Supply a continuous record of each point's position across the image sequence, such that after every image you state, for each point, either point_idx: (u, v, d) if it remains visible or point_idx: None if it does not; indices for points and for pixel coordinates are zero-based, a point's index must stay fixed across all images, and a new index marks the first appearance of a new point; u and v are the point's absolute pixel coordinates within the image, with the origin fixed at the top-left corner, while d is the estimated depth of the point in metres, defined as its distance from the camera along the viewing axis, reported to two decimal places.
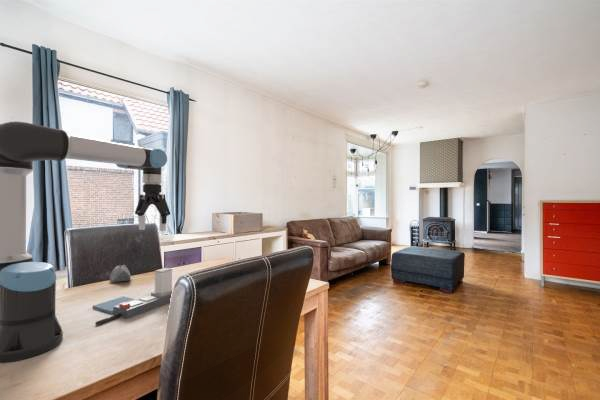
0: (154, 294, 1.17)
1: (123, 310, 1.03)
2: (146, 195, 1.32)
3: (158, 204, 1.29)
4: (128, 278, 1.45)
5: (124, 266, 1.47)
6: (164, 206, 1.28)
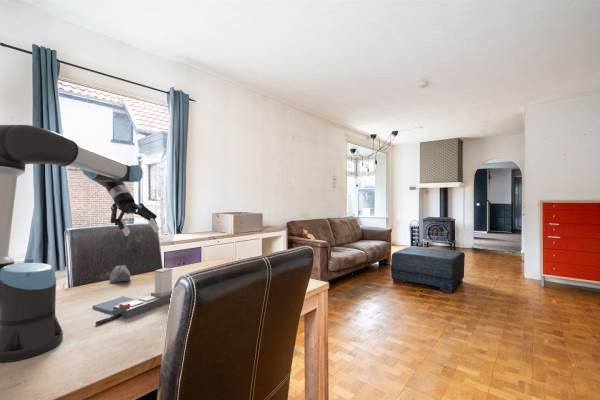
0: (154, 294, 1.17)
1: (123, 310, 1.03)
2: (123, 204, 1.28)
3: None
4: (128, 278, 1.45)
5: (124, 266, 1.47)
6: None
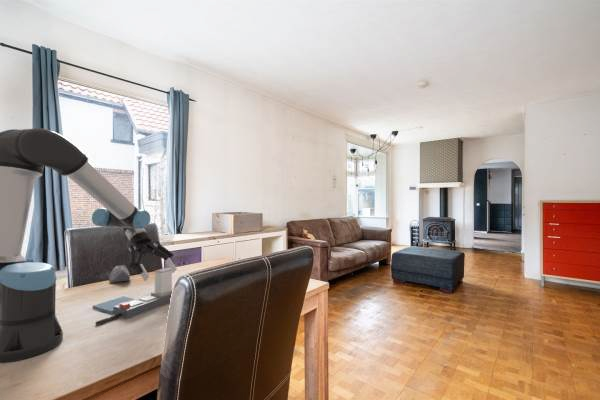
0: (154, 294, 1.17)
1: (123, 310, 1.03)
2: (140, 244, 1.24)
3: None
4: (127, 278, 1.45)
5: (123, 266, 1.47)
6: None
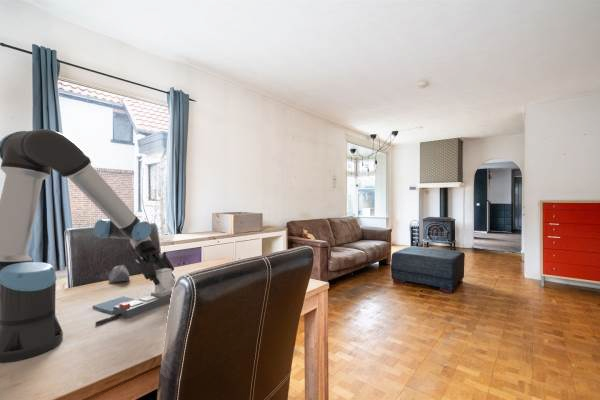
0: (154, 294, 1.17)
1: (123, 310, 1.03)
2: (144, 253, 1.21)
3: None
4: (127, 278, 1.45)
5: (123, 266, 1.46)
6: None
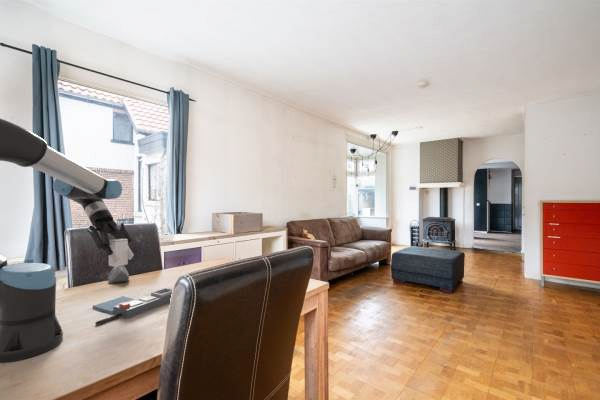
0: (154, 294, 1.17)
1: (123, 310, 1.03)
2: (98, 222, 1.15)
3: None
4: (126, 278, 1.45)
5: (122, 266, 1.46)
6: None
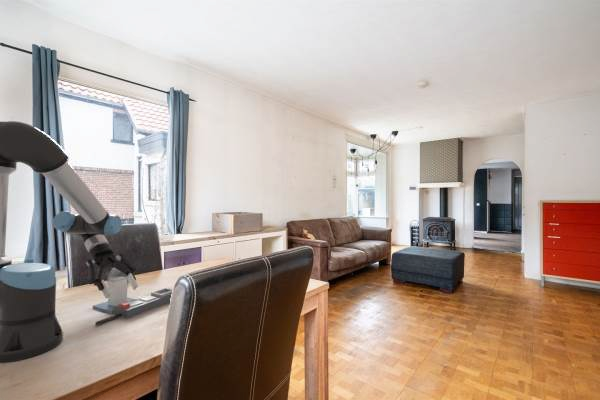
0: (154, 294, 1.17)
1: (123, 310, 1.03)
2: (98, 257, 1.15)
3: None
4: None
5: None
6: None
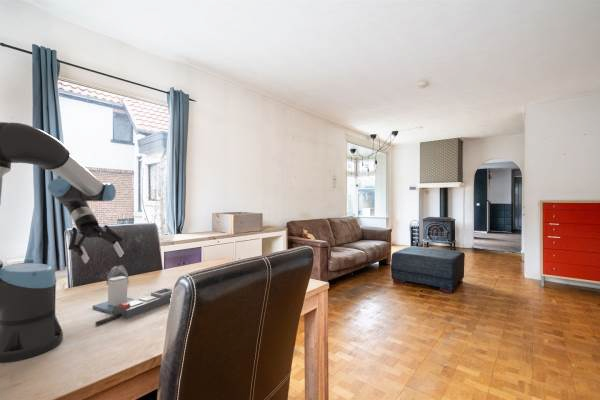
0: (154, 294, 1.17)
1: (123, 310, 1.03)
2: (84, 227, 1.20)
3: None
4: None
5: (121, 266, 1.46)
6: None
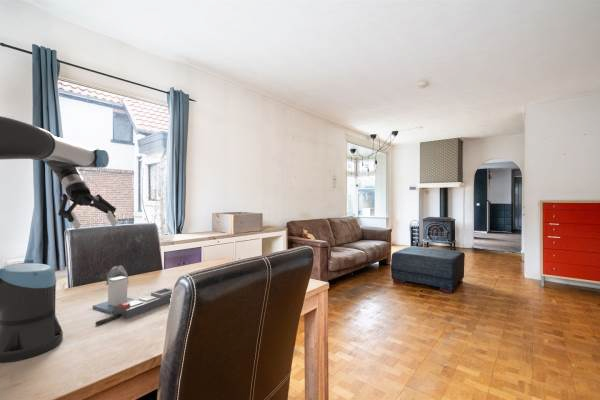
0: (154, 294, 1.17)
1: (123, 310, 1.03)
2: (75, 194, 1.15)
3: None
4: None
5: (121, 267, 1.46)
6: None
